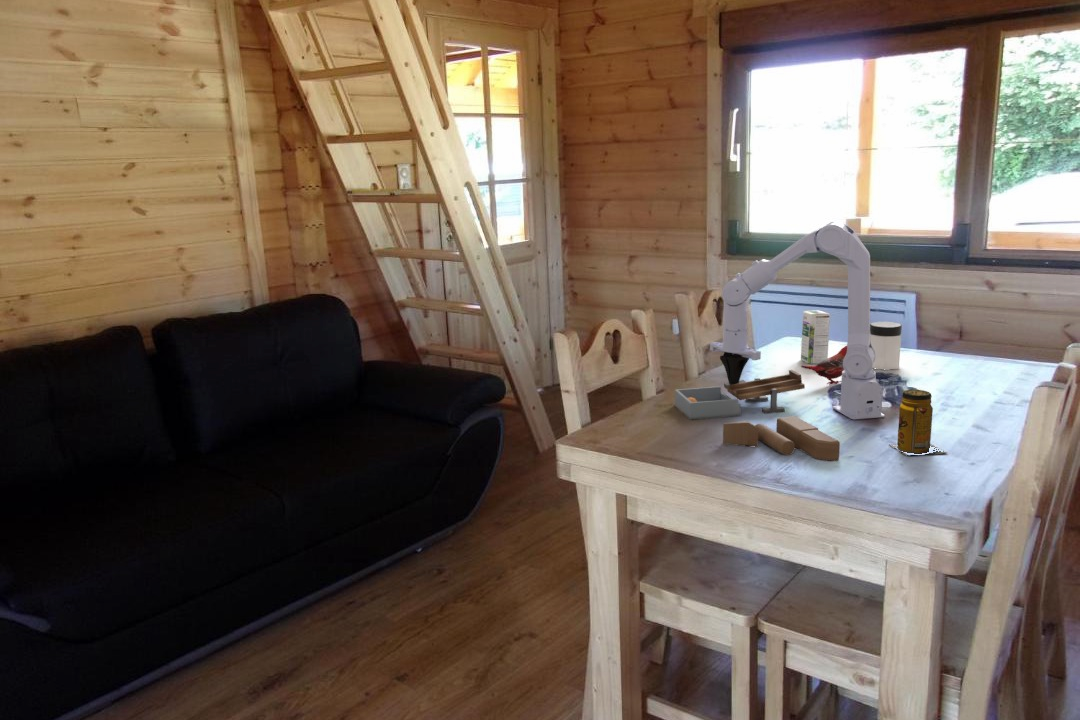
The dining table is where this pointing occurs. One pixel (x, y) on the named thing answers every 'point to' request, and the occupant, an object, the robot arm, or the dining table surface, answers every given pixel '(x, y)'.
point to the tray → (706, 403)
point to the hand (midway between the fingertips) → (733, 383)
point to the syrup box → (815, 336)
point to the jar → (886, 344)
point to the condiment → (915, 423)
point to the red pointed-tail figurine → (830, 366)
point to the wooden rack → (765, 386)
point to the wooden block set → (784, 437)
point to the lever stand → (773, 402)
